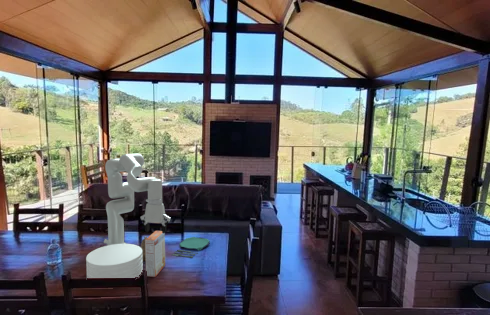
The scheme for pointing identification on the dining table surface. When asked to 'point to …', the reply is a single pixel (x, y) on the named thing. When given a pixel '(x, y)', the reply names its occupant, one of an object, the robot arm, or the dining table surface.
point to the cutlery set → (192, 245)
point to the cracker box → (155, 253)
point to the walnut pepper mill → (143, 249)
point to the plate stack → (115, 261)
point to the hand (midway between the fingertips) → (155, 231)
